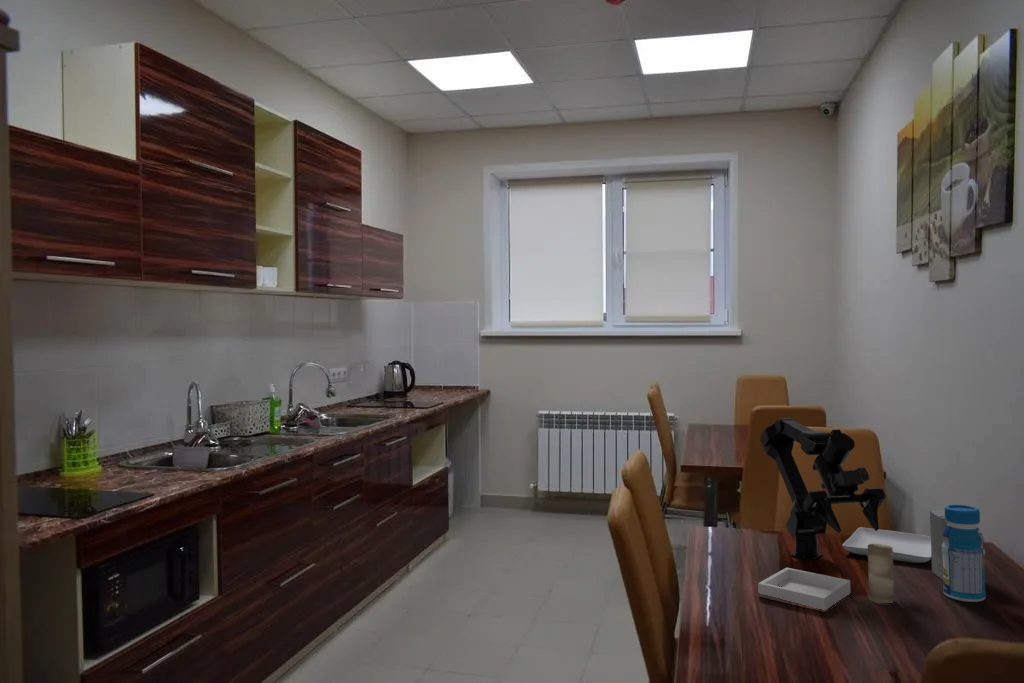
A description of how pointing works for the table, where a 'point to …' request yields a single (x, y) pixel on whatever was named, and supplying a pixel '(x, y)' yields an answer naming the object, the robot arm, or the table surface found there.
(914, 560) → the salad plate
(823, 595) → the grey bin
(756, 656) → the table surface
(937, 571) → the skincare box
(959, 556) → the beverage bottle
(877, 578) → the birch peg
